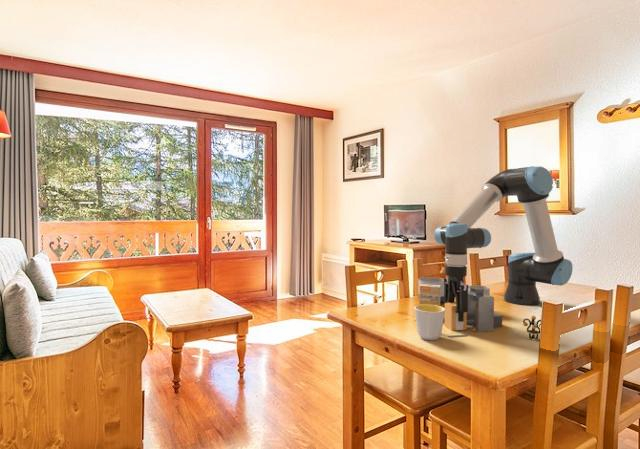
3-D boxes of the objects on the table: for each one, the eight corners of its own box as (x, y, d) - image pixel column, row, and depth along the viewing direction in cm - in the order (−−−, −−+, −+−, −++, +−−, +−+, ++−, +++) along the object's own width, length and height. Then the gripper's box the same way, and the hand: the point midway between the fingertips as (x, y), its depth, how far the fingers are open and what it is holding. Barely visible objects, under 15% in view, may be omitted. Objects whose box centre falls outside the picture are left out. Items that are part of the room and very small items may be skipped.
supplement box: (418, 317, 156) (418, 285, 156) (420, 314, 161) (420, 283, 160) (439, 319, 153) (440, 286, 153) (440, 315, 158) (440, 284, 157)
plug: (494, 323, 148) (495, 300, 147) (503, 326, 143) (503, 303, 142) (444, 326, 144) (444, 302, 143) (451, 330, 139) (451, 306, 139)
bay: (442, 321, 151) (442, 320, 151) (467, 335, 133) (467, 335, 133) (426, 322, 149) (425, 321, 149) (449, 337, 132) (449, 336, 132)
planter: (452, 301, 181) (452, 280, 181) (434, 305, 174) (434, 283, 174) (430, 296, 192) (430, 276, 192) (412, 300, 185) (412, 279, 184)
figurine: (520, 336, 131) (523, 314, 130) (530, 335, 133) (533, 312, 132) (533, 342, 127) (535, 319, 126) (543, 340, 128) (545, 317, 128)
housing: (474, 321, 150) (475, 284, 149) (493, 331, 138) (494, 291, 137) (460, 322, 149) (460, 285, 148) (478, 332, 137) (478, 292, 136)
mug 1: (442, 344, 125) (442, 313, 124) (410, 340, 129) (411, 309, 129) (448, 332, 137) (449, 303, 136) (420, 328, 141) (420, 300, 141)
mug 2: (485, 316, 156) (486, 290, 156) (464, 313, 162) (465, 287, 161) (494, 310, 165) (495, 285, 165) (474, 307, 171) (474, 283, 170)
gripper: (434, 262, 149) (434, 320, 150) (459, 269, 131) (458, 335, 132) (452, 261, 151) (451, 319, 151) (479, 268, 133) (478, 334, 133)
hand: (455, 327), depth 142 cm, fingers open, 5 cm apart
